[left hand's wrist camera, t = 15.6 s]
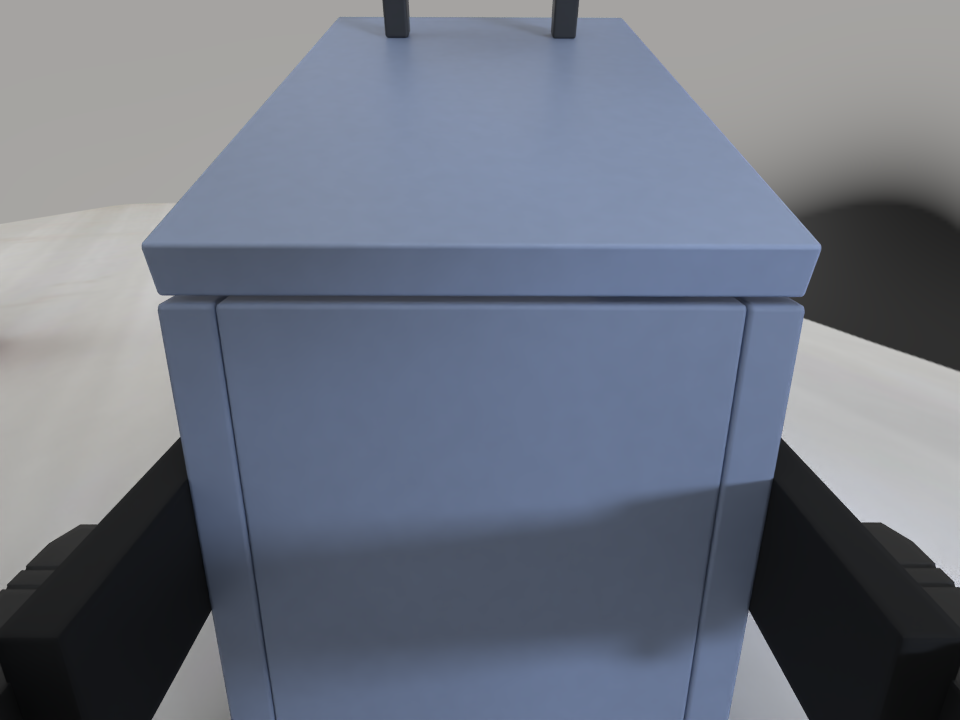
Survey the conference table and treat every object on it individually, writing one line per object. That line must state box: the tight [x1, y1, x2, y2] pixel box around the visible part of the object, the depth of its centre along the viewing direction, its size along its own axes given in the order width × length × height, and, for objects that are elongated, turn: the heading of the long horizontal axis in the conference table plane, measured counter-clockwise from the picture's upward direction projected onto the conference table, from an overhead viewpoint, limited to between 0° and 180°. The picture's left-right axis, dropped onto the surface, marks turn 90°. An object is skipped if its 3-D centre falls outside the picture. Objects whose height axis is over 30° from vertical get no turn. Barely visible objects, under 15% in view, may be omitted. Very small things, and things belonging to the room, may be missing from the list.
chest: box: [158, 295, 804, 720], centre depth 19 cm, size 15×10×11 cm, turn 0°
